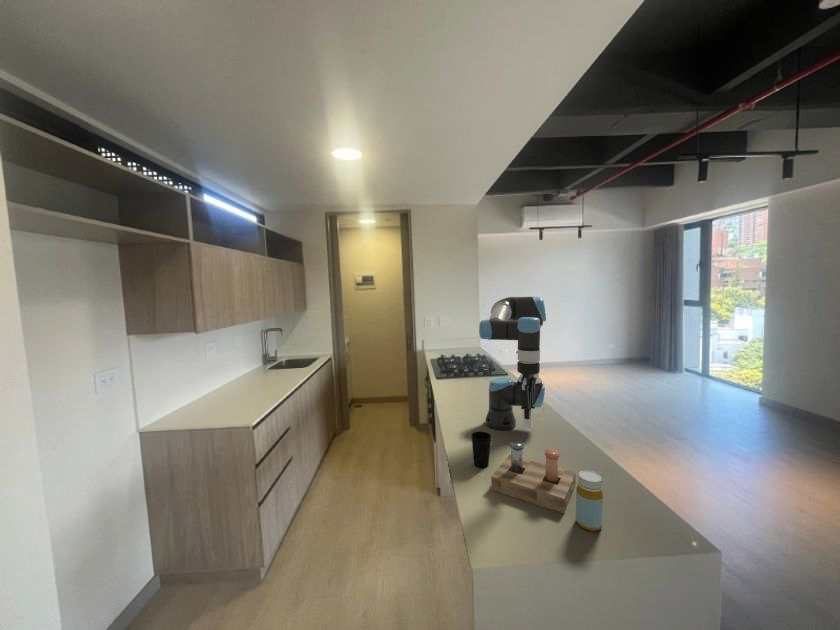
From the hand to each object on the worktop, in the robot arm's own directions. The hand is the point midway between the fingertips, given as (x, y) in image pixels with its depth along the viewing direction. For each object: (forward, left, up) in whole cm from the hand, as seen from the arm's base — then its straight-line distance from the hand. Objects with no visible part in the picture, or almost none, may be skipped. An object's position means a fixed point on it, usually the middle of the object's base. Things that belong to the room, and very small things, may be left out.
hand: (527, 426), depth 125 cm
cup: (-2, -19, -21) cm, 28 cm away
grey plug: (+3, -3, -15) cm, 15 cm away
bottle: (+13, +22, -21) cm, 33 cm away
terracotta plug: (+3, +9, -15) cm, 18 cm away
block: (+3, +3, -21) cm, 21 cm away
